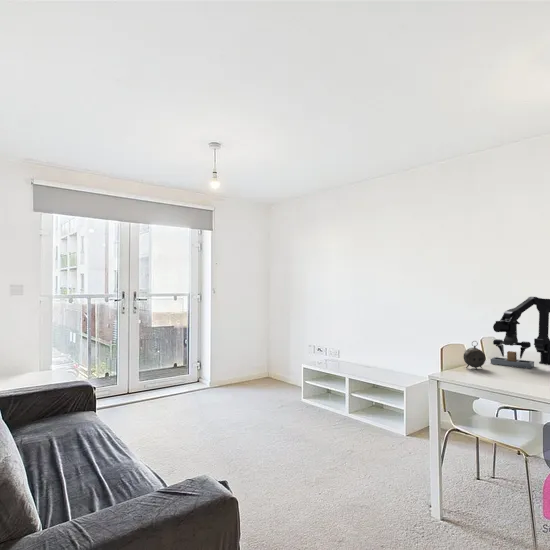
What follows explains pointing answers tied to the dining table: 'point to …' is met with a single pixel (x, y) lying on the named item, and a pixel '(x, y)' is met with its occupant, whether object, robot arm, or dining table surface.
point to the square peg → (511, 356)
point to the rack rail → (513, 362)
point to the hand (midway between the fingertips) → (511, 357)
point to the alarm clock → (474, 357)
